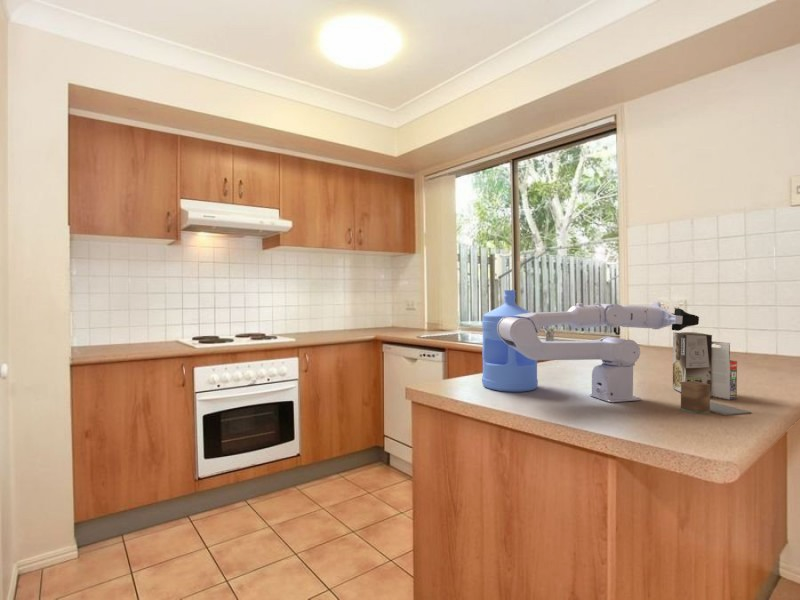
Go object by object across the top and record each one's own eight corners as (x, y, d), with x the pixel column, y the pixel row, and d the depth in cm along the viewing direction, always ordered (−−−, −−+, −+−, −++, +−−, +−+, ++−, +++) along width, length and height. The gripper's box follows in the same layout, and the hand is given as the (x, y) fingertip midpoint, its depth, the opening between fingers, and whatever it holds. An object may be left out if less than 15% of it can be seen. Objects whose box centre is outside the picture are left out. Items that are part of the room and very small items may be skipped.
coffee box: (712, 396, 118) (713, 334, 118) (685, 395, 119) (685, 334, 119) (696, 389, 127) (697, 331, 127) (671, 388, 128) (672, 331, 128)
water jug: (480, 380, 140) (481, 290, 139) (533, 382, 137) (533, 290, 137) (483, 391, 124) (483, 290, 124) (542, 393, 122) (542, 290, 121)
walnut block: (695, 413, 102) (696, 385, 102) (680, 409, 106) (681, 381, 106) (709, 412, 103) (710, 384, 103) (694, 408, 107) (694, 380, 107)
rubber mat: (724, 415, 100) (724, 414, 100) (684, 404, 110) (684, 403, 110) (751, 413, 103) (751, 411, 103) (710, 402, 112) (710, 401, 112)
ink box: (705, 392, 123) (706, 339, 123) (737, 398, 116) (738, 342, 116) (697, 393, 122) (698, 340, 122) (729, 400, 115) (730, 343, 114)
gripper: (660, 302, 110) (709, 305, 112) (622, 300, 124) (667, 303, 126) (658, 331, 110) (707, 333, 112) (621, 325, 125) (665, 328, 127)
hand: (686, 319), depth 119 cm, fingers open, 7 cm apart
